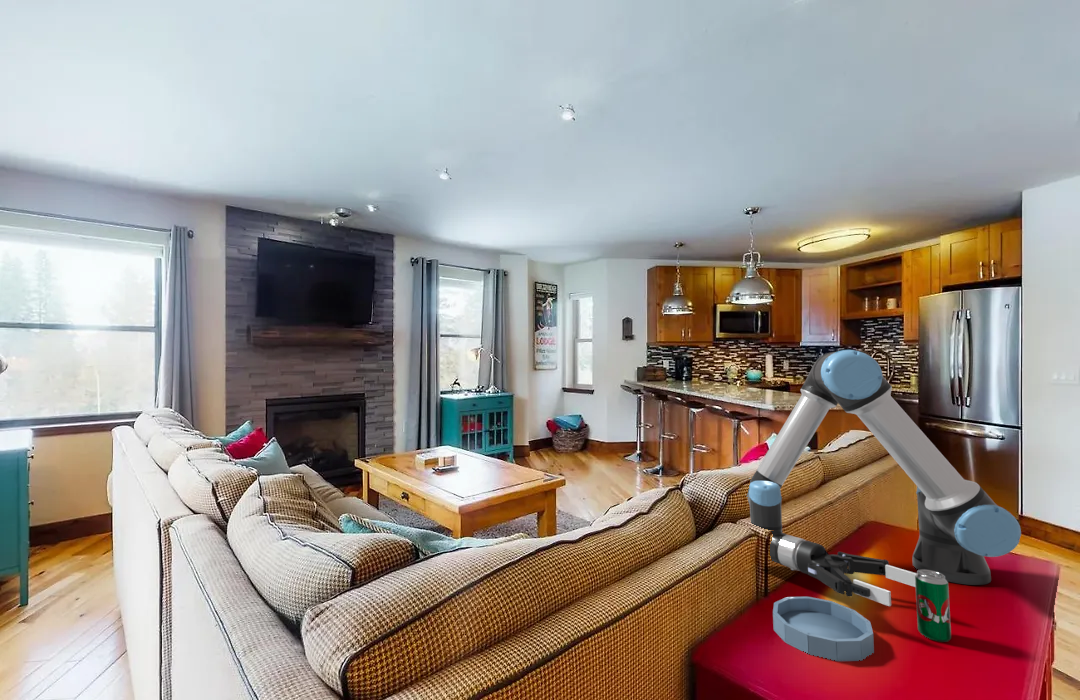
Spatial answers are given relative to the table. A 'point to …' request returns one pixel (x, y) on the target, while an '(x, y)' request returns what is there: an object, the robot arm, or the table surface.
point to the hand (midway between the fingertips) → (906, 590)
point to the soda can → (933, 605)
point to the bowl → (823, 628)
